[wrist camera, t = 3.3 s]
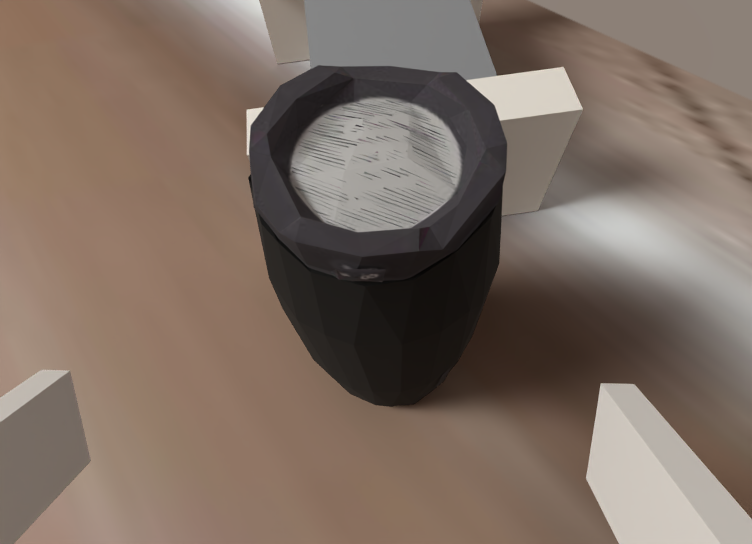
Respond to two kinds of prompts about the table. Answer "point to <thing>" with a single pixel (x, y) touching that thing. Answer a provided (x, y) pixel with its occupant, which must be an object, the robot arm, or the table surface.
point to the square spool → (440, 54)
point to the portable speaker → (380, 220)
